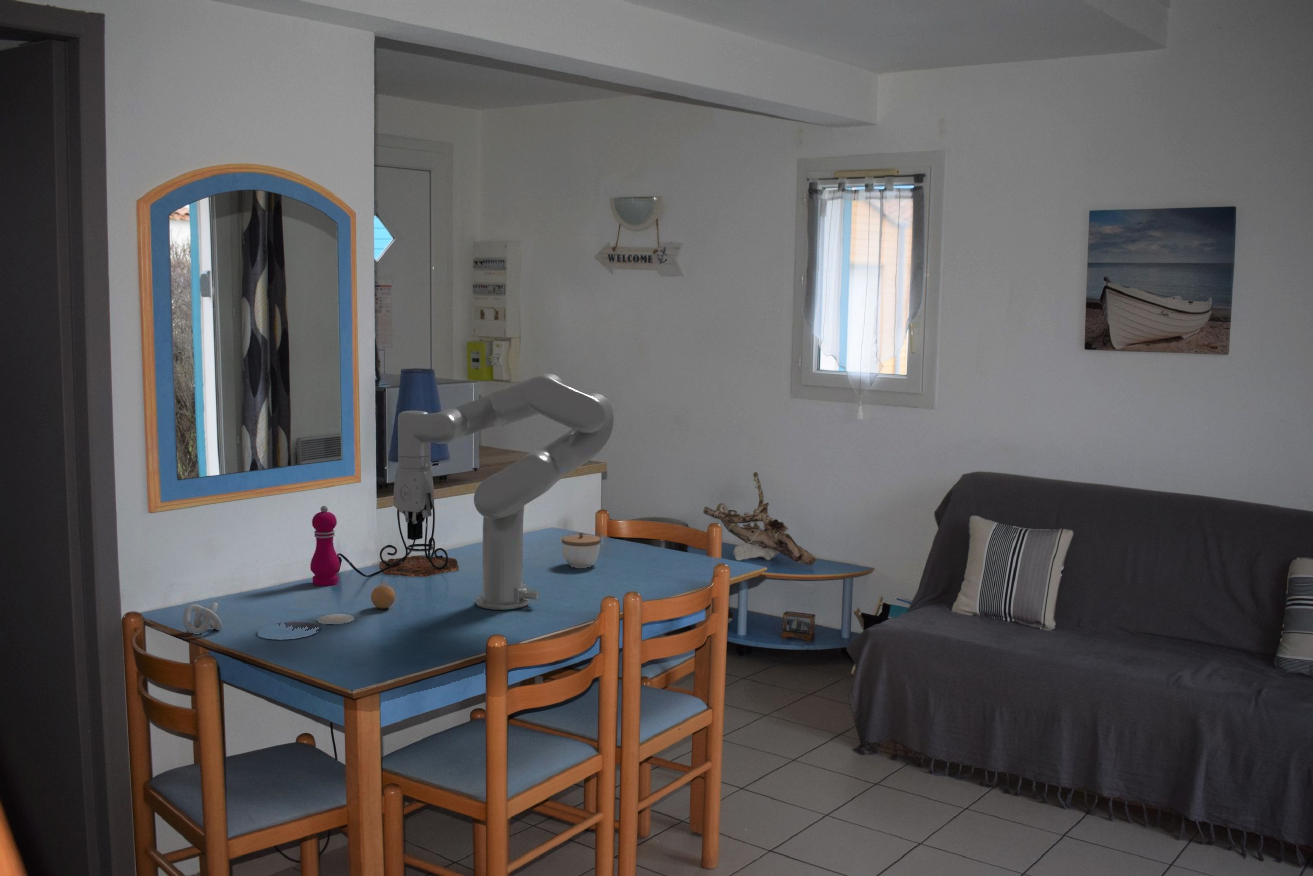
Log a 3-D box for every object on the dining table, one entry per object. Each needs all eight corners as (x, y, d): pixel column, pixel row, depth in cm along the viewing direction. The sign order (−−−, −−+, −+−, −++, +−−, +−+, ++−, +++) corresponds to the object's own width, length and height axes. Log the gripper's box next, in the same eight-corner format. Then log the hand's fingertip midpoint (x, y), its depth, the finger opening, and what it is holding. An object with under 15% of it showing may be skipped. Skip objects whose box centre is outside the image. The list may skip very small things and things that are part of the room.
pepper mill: (346, 581, 279) (344, 504, 276) (328, 587, 272) (327, 509, 270) (322, 578, 281) (320, 502, 279) (304, 585, 274) (303, 507, 272)
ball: (399, 606, 256) (399, 583, 256) (388, 612, 251) (388, 589, 250) (378, 604, 258) (378, 581, 257) (366, 610, 252) (366, 587, 252)
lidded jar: (607, 564, 302) (608, 531, 301) (585, 572, 293) (585, 538, 292) (576, 559, 308) (577, 527, 307) (553, 566, 299) (553, 533, 298)
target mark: (331, 625, 240) (331, 624, 240) (298, 642, 227) (298, 641, 227) (278, 620, 243) (278, 620, 243) (243, 637, 230) (243, 636, 230)
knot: (192, 625, 238) (191, 599, 238) (230, 625, 239) (229, 599, 238) (180, 635, 231) (179, 609, 230) (218, 635, 231) (218, 608, 231)
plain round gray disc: (361, 616, 247) (361, 615, 247) (342, 626, 239) (342, 625, 239) (329, 613, 249) (329, 612, 249) (310, 623, 241) (310, 622, 241)
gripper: (381, 461, 260) (382, 536, 262) (422, 467, 250) (423, 546, 252) (406, 458, 265) (407, 532, 268) (447, 464, 256) (448, 541, 258)
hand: (415, 538), depth 260 cm, fingers closed
